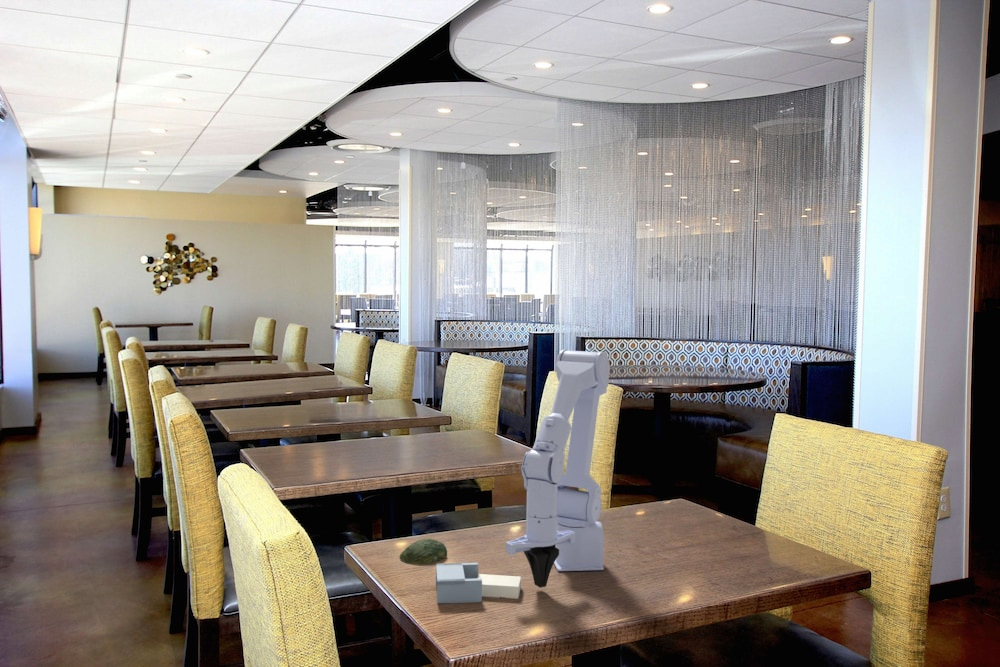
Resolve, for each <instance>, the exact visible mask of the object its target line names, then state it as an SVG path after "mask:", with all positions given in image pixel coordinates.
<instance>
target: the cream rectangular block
mask: <svg viewBox="0 0 1000 667" xmlns="http://www.w3.org/2000/svg"><path fill="white" fill-rule="evenodd" d="M478 578H482V597H484V598H485V597H487V598H500V597H502V598H501V599H517V600H518V599H519V597H520V593H521V589H522V576H518V575H517V576H516V575H504V574H503V575H502V574H501V575H500V574H486V573H484V574H483V573H478ZM503 597H505V598H503Z"/></svg>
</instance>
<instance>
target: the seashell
mask: <svg viewBox="0 0 1000 667" xmlns="http://www.w3.org/2000/svg"><path fill="white" fill-rule="evenodd" d="M447 557H448V549H447V546H446V545H445V544H444V543H443V542H441V540H438V539H435V538H423V539H419V540H417V541H415V542H413V543H411V544H410V545H408V546H407V547H406V548H405V549H404V550H403V551H402V552H401V553H400V555H399V560H400V561H401V562H402V563H405V564H409V565H418V566H419V565H423V566H424V565H431V564H432V563H433V562H434V563H436V562H437V563H438V562H439V561H440V559H441V560H444V558H445V559H447Z"/></svg>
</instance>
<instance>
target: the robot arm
mask: <svg viewBox="0 0 1000 667" xmlns="http://www.w3.org/2000/svg"><path fill="white" fill-rule="evenodd" d="M610 370H611V365H610V360H609V356H608V355H607V353H606V352H605V351H587V350H585V351H584V350H583V351H582V350H568V349H561V351H559V353H558V355H557V357H556V362H555V371H556V378H557V380H558V384H557V389H556V393H555V397H554V401H553V405H552V408H551V412H550V414H549V415H545V417H543V419H542V422H541V424H540V427H539V430H538V432H537V436H536V438H535V441H534V443H533V447H532V449H531V450H529V451H526V452H525V454H524V456H523V459H522V463H521V464H522V465H521V466H520V468H521V475H522V477H523V478H522V479H523V487H524V489H525V490H526V518H525V519H526V520H525V522H526V523H525V524H526V525H525V526H526V527H525V529H526V530H525V534H524V535H522V536H520V537H517V538H514V539H512V540H508V541H505V553H506V554H508V555H509V556H513V555H516V554H517V553H522V552H523V553H524V556H525V558H526V560H527V561H528V564H529V567H530V571H531V573H532V578H533V581H534V582H533V583H534V585H535V586H537V587H538V588H540V589H541V588H545V587H547V584H548V581H549V577H550V573H551V571H552V568H553V565H554V566H555V567H556V570H557V571H558V572H573V571H576V572H577V571H578V572H580V571H603V570H604V569H605V568H604V546H605V545H604V544H605V543H604V542H605V540H604V528H603V524H602V522H601V521H598V520H599V518H600V515H601V512H602V488H601V486H600V484H598V482H597V481H596V480H595V479H594V478H593V477H592V476H591V466H592V457H593V450H594V442H595V441H594V439H595V435H596V434H595V433H596V426H597V425H596V423H597V417H598V407H599V402H600V397H601V396H603V395H604V394H606V393H607V392H608V390H607V389H608V386H609V379H610ZM572 413H573V414H572ZM571 415H572V422H571V423H570V422H569V419H570V418H571ZM569 436H570V437H569ZM568 440H569V444H568V452H567V459H566V460H567V461H566V468H564V467H565V465H564V464H565V458H566V454H565V449H566V446H567V443H568ZM564 469H565V472H564ZM568 487H569V488H568ZM570 487H572V488H576V489H572V488H570ZM577 488H579V489H584V490H586V491H584V490H578V489H577Z"/></svg>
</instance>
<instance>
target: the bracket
mask: <svg viewBox="0 0 1000 667" xmlns="http://www.w3.org/2000/svg"><path fill="white" fill-rule="evenodd" d="M478 576H479V562H457V563H456V562H454V563H453V562H452V563H451V562H449V563H444V562H443V563H435V587H436V595H437V597H436V604H457V603H458V604H459V603H460V604H461V603H462V604H463V603H467V604H468V603H482V602H483V601H482V600H483V599H482V598H483V596H482V578H478Z"/></svg>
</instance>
